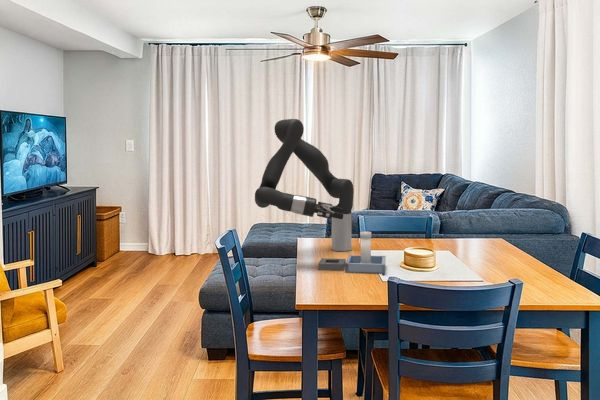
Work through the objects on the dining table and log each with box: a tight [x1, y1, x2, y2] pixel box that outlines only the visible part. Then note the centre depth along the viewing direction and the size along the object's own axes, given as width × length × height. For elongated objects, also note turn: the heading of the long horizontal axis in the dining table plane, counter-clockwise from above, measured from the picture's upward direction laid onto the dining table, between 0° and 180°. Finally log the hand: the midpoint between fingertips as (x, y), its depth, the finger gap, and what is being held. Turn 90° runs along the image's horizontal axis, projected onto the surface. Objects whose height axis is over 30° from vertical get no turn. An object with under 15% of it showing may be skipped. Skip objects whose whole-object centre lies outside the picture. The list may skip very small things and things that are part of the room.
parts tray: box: [344, 254, 386, 276], centre depth 228 cm, size 16×15×4 cm
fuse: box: [359, 230, 372, 264], centre depth 227 cm, size 4×4×14 cm
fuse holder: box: [317, 257, 347, 272], centre depth 230 cm, size 10×10×3 cm
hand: (342, 213), depth 231 cm, fingers open, 8 cm apart
